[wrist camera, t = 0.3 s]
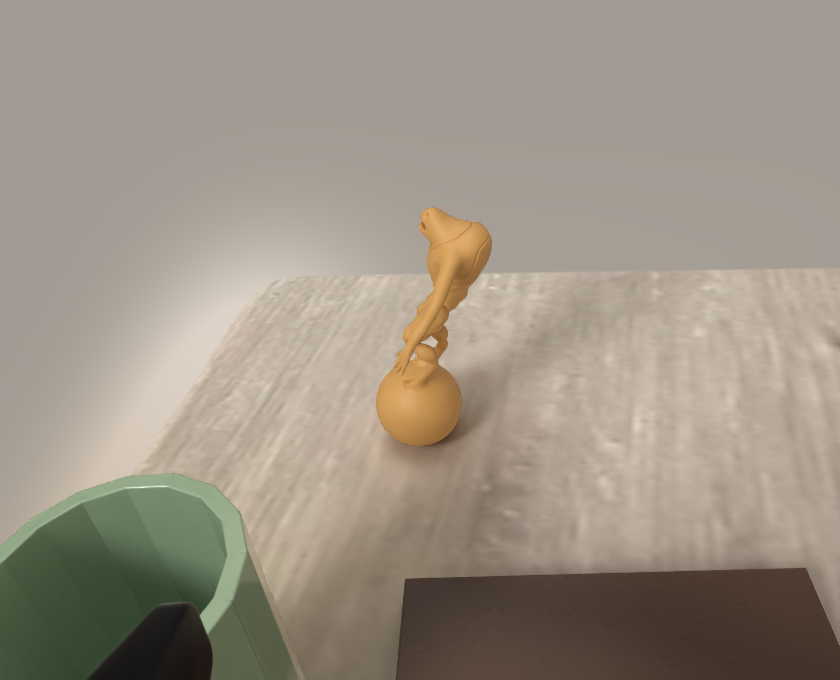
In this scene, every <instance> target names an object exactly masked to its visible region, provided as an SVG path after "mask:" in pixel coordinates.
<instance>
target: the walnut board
mask: <svg viewBox="0 0 840 680" xmlns="http://www.w3.org/2000/svg"><path fill="white" fill-rule="evenodd" d="M396 680H840V647H839V644H838V642H837V640H836V637H835V635H834V633H833V630H832V628H831V626H830V623H829V621H828V619H827V616H826V614H825V612H824V609H823V607H822V605H821V603H820V600H819V598H818V596H817V593H816V591H815V589H814V586H813V584H812V582H811V579H810V577H809V575H808V572H807V570H806V568H785V569H748V570H711V571H674V572H636V573H599V574H562V575H525V576H488V577H451V578H414V579H405V585H404V596H403V607H402V619H401V630H400V641H399V652H398V663H397V674H396Z"/></svg>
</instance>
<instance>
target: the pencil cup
mask: <svg viewBox="0 0 840 680" xmlns="http://www.w3.org/2000/svg"><path fill="white" fill-rule="evenodd" d="M174 602H191V603H192V604H194V605H195V606H196V608H197V610H198V613H199V615H200V617H201V620H202V622H203V625H204V627H205V630H206V632H207V635H208V637H209V640H210V642H211V645H212V650H213V666H212V673H211V679H210V680H305V677H304V675H303V672H302V670H301V667H300V664H299V662H298V659H297V657H296V654H295V652H294V649H293V646H292V644H291V641H290V639H289V636H288V634H287V631H286V628H285V626H284V623H283V621H282V618H281V616H280V613H279V610H278V608H277V605H276V603H275V600H274V597H273V595H272V592H271V590H270V587H269V585H268V582H267V579H266V577H265V574H264V572H263V569H262V567H261V564H260V561H259V559H258V556H257V554H256V551H255V549H254V546H253V543H252V541H251V538H250V536H249V533H248V531H247V528H246V525H245V523H244V520H243V518H242V515H241V513H240V511H239V510H238V509H237V508H236V507H235V506H234V505H233V504H232V503H231V502H230V501H229V500H228V499H227V498H226V497H225V496H224V495H223V494H222V493H221V491H220V490H219V489H218V488H217V487H215V486H213V485H211V484H208V483H205V482H202V481H198V480H195V479H192V478H189V477H186V476H183V475H180V474H174V473H173V474H151V475H131V476H126V477H123V478H120V479H117V480H114V481H111V482H107V483H104V484H101V485H98V486H95V487H92V488H88V489H85V490H82V491H80V492H77V493H75V494H74V495H72V496H70V497H68V498H67V499H65V500H63V501H61V502H59V503H58V504H56V505H54V506H53V507H51V508H49V509H47V510H46V511H44V512H42V513H41V514H39V515H37V516H35V517H34V518H32V519H30V521H28V522H27V523H26V524H24V526H22V527H21V528H20V529H19V530H18V531H17V532H16V533H15V534H14V535H12V537H10V538H9V539H8V540H7V541H6V542H5V543H4V544H3V545H2V546H0V680H86V679H87V677H88V676H89V675H90V674H91V673H92V672H93V671H94V670H95V669H96V668H97V667H98V666H99V665H100V664H101V663H102V662H103V661H104V660H105V659H106V658H107V656H108V655H109V654H110V653H111V652H112V651H113V650H114V649H115V648H116V647H117V646H118V645H119V644H120V643H121V642H122V641H123V640H124V639H125V638H126V637H127V636H128V634H129V633H130V632H131V631H132V630H133V629H134V628H135V627H136V626H137V625H138V624H139V623H140V622H141V621H142V620H143V619H144V618H145V617H146V616H147V615H148V614H149V612H150V611H151V610H152V609H154V608H155V607H156V606H158V605H160V604H163V603H174Z"/></svg>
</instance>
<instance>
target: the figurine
mask: <svg viewBox="0 0 840 680" xmlns="http://www.w3.org/2000/svg"><path fill="white" fill-rule="evenodd" d="M421 220H422V221H423V222H421V223H420V224H419V229H420V231H421V232H422V233H423V235H425V236H426V238H427V239H428V240H429V241H430V246H429V250H428V254H427V268H428V270H429V273H430V276H431V279H432V281H433V286H434V290H433V293H431V294H430V295H429V296H428V297H427V298H426V300H425V301H424V302H423V303H422V304H420V305H419V306H418V308H417V316H416V317H415V319H414V320H413V322H412V323H411V324H410V325H408V326H407V327H406V328H405V330H404V332H403V340H404V342H405V343H406V346H405V348H404V350H403V351H399V352H397V353H396V355H399V358H398V359H397V361H396V363H395V365H394V367H393V368H394V369H392V370H391V371H390V372H389V373H388V374H387V375H386V376H385V378H384V379H383V381H382V382H381V384H380V386H379V389H378V392H377V397H376V409H377V414H378V417H379V420H380V422H381V424H382V426H383V427H384V429H385V430H386V431H387V432H388V433H389V434H390V435H391V436H392V437H393V438H395V439H396V440H398V441H400V442H402V443H404V444H407V445H412V446H426V445H431V444H434V443H436V442H438V441H440V440H442V439H443V438H445V437H446V436H447V435H448V434H449V433H450V432H451V431H452V430H453V429H454V427H455V426H456V424H457V422H458V420H459V417H460V414H461V408H462V398H461V392H460V389H459V387H458V384H457V382H456V381H455V379H454V378H453V376H452V375H451V374H450V373H449V372H448V371H447V370H446V369H444V368H443V367H441V366H440V365H438V359H439V357H440V356H441V355H442V353H443V352H444V351H445V349H446V348H447V346H448V342H447V336H448V331H447V329H446V327H445V326H444V323H445V322H446V321H447V319H448V317H449V312H450V311H451V310H453V309H455V308H456V307H457V306H458V304H459V302H461V301H462V300H463V299H465V297H466V296H467V293H468V288H469V287H470V286H471V285H472V284H473V283H474V281H475V280H476V279H477V278H478V276H479V274H480V273H481V271H482V270H483V268H484V267H485V265H486V264H487V262H488V259H489V256H490V253H491V247H492V240H491V236H490V234H489V232H488V230H487V229H486V228H485V227H484V226H483V225H482V224H481V223H479V222H470V221H466V220H462V219H457V218H455V217H453V216H450V215H448V214H446V213H445V212H443V211H441V210H440V209H438V208H435V207H429V208H427V209H426V210H424V211H423V212H422V214H421ZM431 335H432V337H433V338H435V339H436V340H437V341H438V344H437V345H436V346H435V348H433V347H431V346H429V345H427V344H422V343H421V342H422V341H424V340H426V339H428V338H429V337H430V336H431ZM413 351H414V352H415V353H416V354H417V357H415V359H414V360H413V361H409V360H410V358H411V355H412V353H413ZM398 364H399V365H398ZM397 365H398V366H397ZM396 366H397V367H396Z"/></svg>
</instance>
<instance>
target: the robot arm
mask: <svg viewBox="0 0 840 680" xmlns="http://www.w3.org/2000/svg"><path fill="white" fill-rule="evenodd" d="M212 666H213V650H212V645H211V642H210V640H209V637H208V635H207V632H206V630H205V627H204V625H203V622H202V620H201V617H200V615H199V613H198V610H197V608H196V606H195V605H194V604H192V603H191V602H174V603H163V604H160V605H158V606H156V607H155V608H154V609H152V610H151V611H150V612H149V614H148V615H147V616H146V617H145V618H144V619H143V620H142V621H141V622H140V623H139V624H138V625H137V626H136V627H135V628H134V629H133V630H132V631H131V632H130V633H129V634H128V636H127V637H126V638H125V639H124V640H123V641H122V642H121V643H120V644H119V645H118V646H117V647H116V648H115V649H114V650H113V651H112V652H111V653H110V654H109V655H108V656H107V658H106V659H105V660H104V661H103V662H102V663H101V664H100V665H99V666H98V667H97V668H96V669H95V670H94V671H93V672H92V673H91V674H90V675H89V676H88V677H87V679H86V680H210V679H211V673H212Z"/></svg>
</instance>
